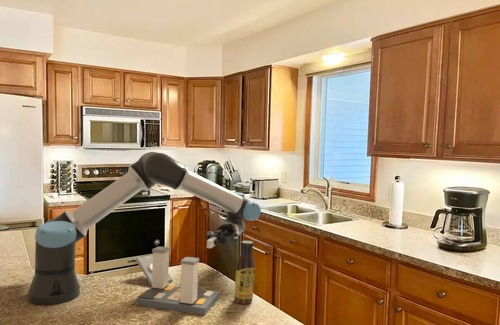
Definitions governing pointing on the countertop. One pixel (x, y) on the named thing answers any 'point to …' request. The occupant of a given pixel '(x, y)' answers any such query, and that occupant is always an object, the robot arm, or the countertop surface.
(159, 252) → the slider
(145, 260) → the gray dial box
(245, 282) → the sauce bottle
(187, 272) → the slider
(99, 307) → the countertop surface
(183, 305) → the console
